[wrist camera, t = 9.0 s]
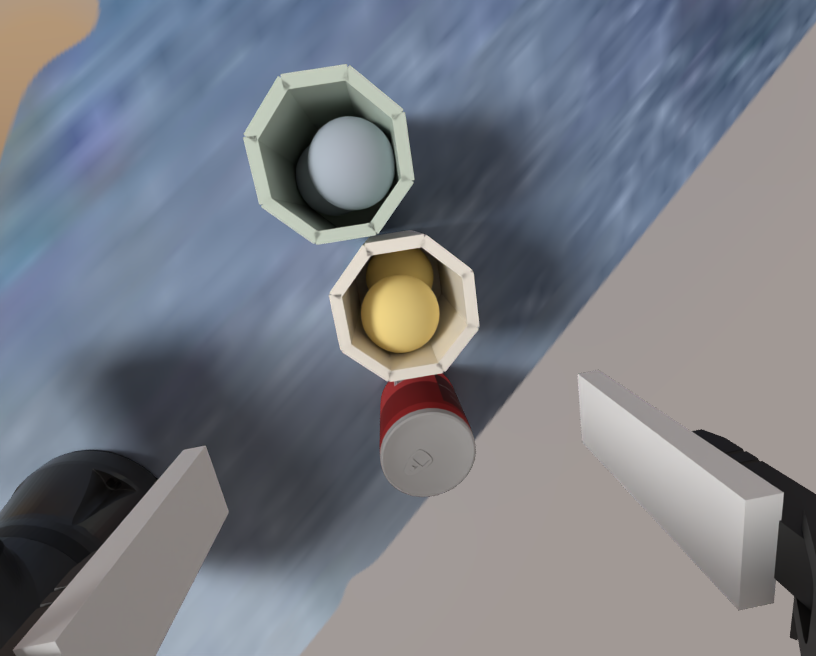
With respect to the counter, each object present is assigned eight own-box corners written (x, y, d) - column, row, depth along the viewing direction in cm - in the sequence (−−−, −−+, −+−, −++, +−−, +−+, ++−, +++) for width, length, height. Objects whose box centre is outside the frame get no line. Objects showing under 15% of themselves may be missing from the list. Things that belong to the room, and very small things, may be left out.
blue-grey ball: (300, 219, 28) (359, 207, 24) (280, 126, 27) (340, 98, 23) (360, 211, 33) (418, 200, 29) (346, 131, 31) (405, 109, 27)
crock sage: (308, 241, 38) (271, 252, 25) (284, 131, 35) (229, 81, 23) (408, 225, 38) (421, 227, 25) (391, 114, 35) (396, 56, 23)
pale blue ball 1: (325, 218, 38) (290, 222, 32) (311, 150, 36) (272, 142, 30) (384, 208, 36) (359, 210, 30) (372, 136, 34) (343, 124, 29)
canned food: (367, 414, 43) (363, 478, 32) (402, 350, 41) (409, 395, 30) (430, 441, 44) (446, 511, 33) (466, 381, 42) (494, 434, 32)
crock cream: (359, 336, 40) (348, 389, 28) (340, 241, 38) (319, 250, 25) (452, 321, 41) (483, 366, 28) (440, 224, 38) (468, 226, 25)
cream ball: (373, 319, 38) (371, 311, 32) (362, 258, 39) (358, 239, 33) (434, 308, 39) (443, 299, 33) (423, 248, 39) (430, 228, 33)
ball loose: (372, 294, 35) (370, 361, 33) (353, 263, 29) (349, 342, 27) (441, 291, 34) (442, 359, 32) (435, 258, 28) (436, 339, 26)
